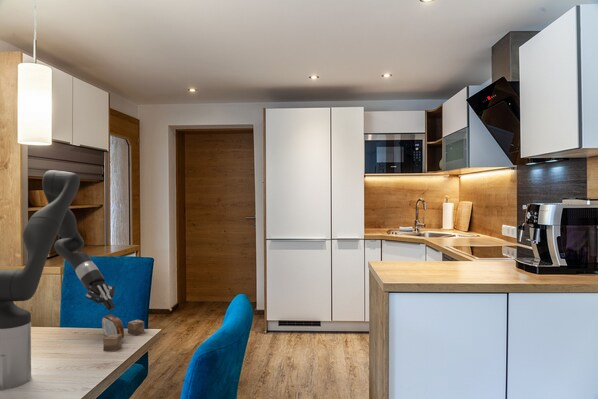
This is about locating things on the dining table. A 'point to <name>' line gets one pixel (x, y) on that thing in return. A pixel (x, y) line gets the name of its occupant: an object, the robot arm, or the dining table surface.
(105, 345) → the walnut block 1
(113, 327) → the tin
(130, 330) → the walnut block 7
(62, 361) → the dining table surface
